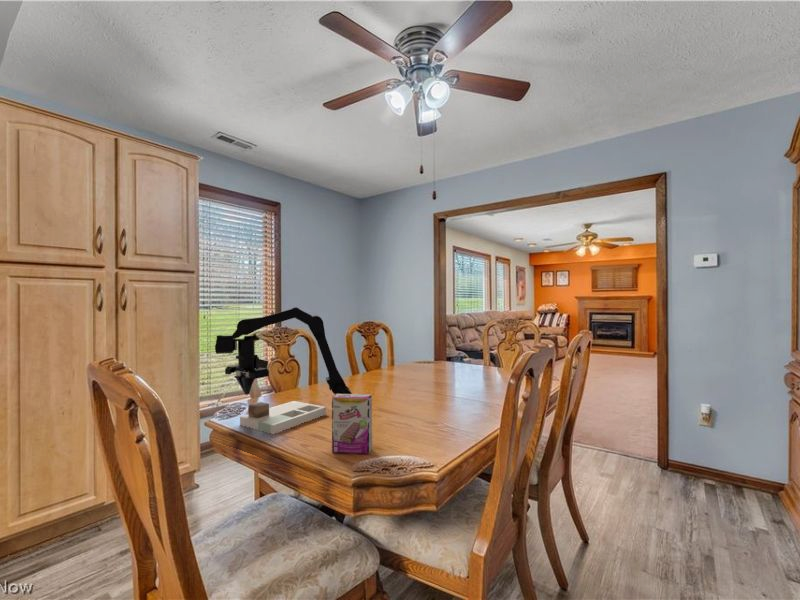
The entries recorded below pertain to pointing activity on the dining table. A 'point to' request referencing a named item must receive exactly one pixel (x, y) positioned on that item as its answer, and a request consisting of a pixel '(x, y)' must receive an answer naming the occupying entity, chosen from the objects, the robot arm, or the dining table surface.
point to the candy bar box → (352, 423)
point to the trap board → (284, 417)
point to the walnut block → (258, 410)
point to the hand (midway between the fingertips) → (247, 394)
